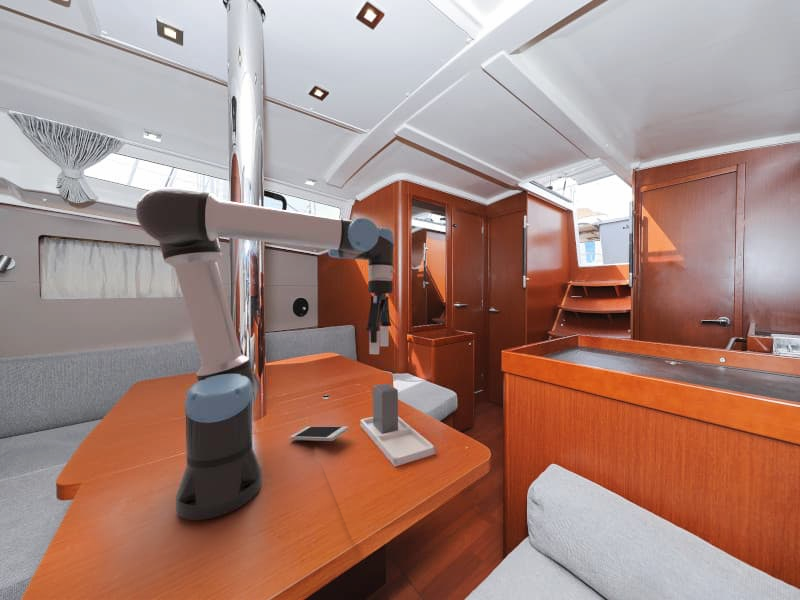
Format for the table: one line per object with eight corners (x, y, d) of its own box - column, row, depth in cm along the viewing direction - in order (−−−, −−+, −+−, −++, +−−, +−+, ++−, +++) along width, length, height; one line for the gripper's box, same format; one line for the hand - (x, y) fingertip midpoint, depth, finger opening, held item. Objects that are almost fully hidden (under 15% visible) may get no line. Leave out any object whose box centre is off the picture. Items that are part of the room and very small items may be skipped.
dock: (394, 466, 66) (394, 412, 66) (360, 425, 88) (359, 384, 88) (435, 453, 72) (435, 403, 71) (393, 417, 93) (393, 379, 93)
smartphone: (332, 441, 72) (331, 437, 73) (289, 439, 79) (289, 436, 79) (349, 429, 79) (348, 425, 79) (308, 429, 86) (308, 425, 86)
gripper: (384, 277, 74) (383, 358, 74) (399, 282, 98) (398, 343, 98) (356, 277, 75) (355, 357, 75) (377, 282, 99) (377, 343, 100)
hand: (379, 349), depth 87 cm, fingers open, 13 cm apart
